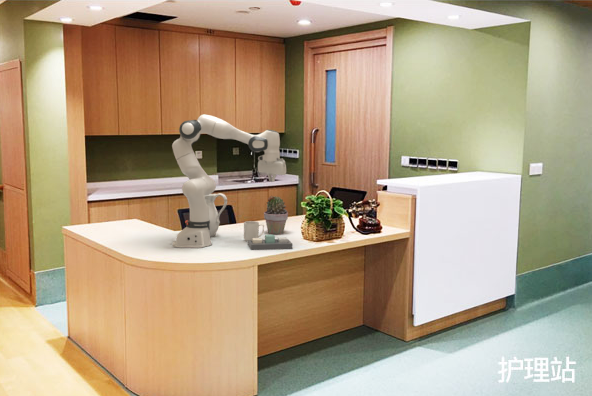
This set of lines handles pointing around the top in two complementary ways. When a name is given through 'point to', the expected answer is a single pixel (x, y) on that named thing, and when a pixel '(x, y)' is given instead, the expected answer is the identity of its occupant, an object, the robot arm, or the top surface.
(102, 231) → the top surface
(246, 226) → the mug
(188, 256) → the top surface
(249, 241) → the keypad
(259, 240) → the key left
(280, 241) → the key right
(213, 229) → the pitcher
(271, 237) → the key mid
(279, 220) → the potted plant
